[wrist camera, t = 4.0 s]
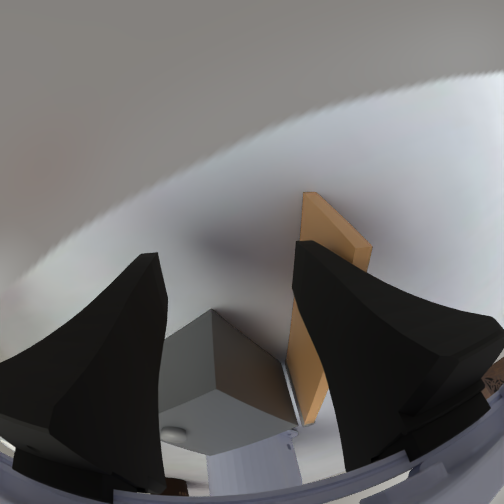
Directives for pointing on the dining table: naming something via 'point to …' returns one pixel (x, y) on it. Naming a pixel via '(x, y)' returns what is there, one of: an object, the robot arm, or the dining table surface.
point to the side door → (300, 344)
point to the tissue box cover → (493, 378)
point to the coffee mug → (175, 488)
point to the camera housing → (219, 389)
